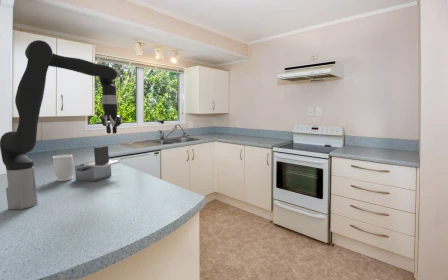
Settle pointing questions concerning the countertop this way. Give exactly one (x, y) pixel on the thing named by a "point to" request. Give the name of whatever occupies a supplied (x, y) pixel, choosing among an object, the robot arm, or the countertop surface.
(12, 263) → the countertop surface
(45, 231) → the countertop surface
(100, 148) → the lid
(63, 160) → the jar
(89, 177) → the grey rectangular container
